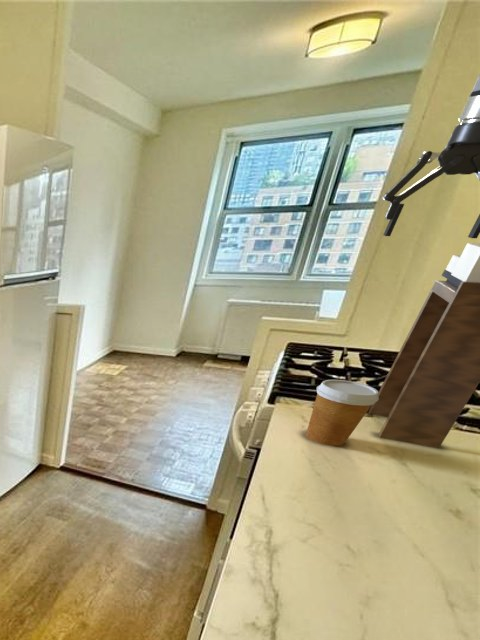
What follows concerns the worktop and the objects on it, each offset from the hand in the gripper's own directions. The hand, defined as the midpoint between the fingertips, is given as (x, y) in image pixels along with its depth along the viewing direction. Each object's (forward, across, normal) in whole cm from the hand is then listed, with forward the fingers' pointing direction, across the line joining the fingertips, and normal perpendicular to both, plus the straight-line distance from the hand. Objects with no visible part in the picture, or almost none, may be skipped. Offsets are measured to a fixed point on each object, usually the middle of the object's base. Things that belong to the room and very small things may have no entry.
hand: (427, 236), depth 107 cm
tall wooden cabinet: (+37, -6, +22) cm, 43 cm away
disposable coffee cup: (+37, +9, +36) cm, 53 cm away
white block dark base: (+7, -6, +15) cm, 17 cm away
